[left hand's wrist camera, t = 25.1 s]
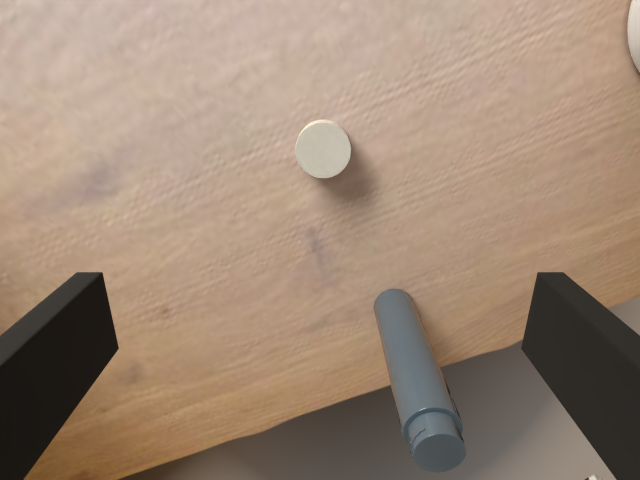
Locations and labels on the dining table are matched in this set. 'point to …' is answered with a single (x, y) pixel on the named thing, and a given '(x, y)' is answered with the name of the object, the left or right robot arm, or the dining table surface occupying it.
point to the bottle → (418, 385)
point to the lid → (323, 149)
